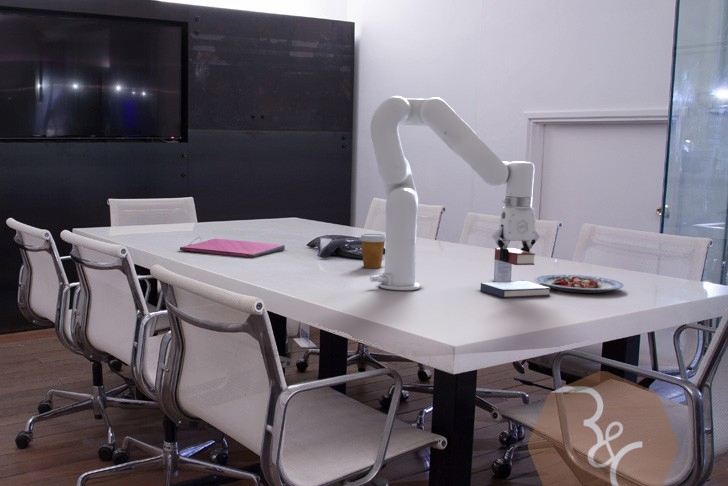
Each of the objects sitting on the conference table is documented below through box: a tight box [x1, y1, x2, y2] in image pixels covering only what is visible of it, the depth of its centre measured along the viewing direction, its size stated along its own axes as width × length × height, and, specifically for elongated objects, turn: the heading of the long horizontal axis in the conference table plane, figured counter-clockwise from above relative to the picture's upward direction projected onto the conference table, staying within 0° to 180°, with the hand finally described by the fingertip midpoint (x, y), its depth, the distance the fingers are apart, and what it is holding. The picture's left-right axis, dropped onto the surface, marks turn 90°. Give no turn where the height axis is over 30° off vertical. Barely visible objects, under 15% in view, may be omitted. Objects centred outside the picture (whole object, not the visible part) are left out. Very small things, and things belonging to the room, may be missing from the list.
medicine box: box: [493, 259, 513, 282], centre depth 252 cm, size 8×4×9 cm, turn 168°
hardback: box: [480, 280, 551, 299], centre depth 234 cm, size 16×12×2 cm
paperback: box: [493, 247, 536, 266], centre depth 233 cm, size 6×11×4 cm, turn 14°
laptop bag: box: [179, 236, 286, 259], centre depth 327 cm, size 40×4×27 cm
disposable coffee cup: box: [359, 233, 386, 269], centre depth 283 cm, size 10×10×12 cm
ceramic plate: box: [534, 274, 625, 294], centre depth 243 cm, size 26×26×3 cm
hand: (514, 260), depth 233 cm, fingers closed on paperback, 6 cm apart
